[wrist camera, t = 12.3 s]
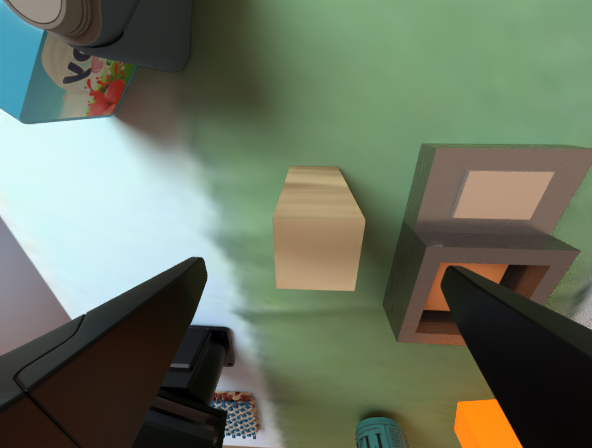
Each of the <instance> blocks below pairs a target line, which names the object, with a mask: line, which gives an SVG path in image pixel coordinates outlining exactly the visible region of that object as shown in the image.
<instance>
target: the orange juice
mask: <svg viewBox="0 0 592 448" xmlns="http://www.w3.org/2000/svg"><path fill="white" fill-rule="evenodd" d="M454 430H455V432H456V434H457V436H458V439H459V441H460V443H461V445H462V447H463V448H522V446H521V444H520V442H519V440H518V439H517V437H516V435H515V433H514V431H513V429H512V428H511V426H510V424H509V422H508V420H507V418H506V417H505V415H504V413H503V411H502V409H501V407H500V406H499V404H498V402H497V400H482V401H467V402H458V405H457V413H456V420H455V428H454Z"/></svg>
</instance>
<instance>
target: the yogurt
mask: <svg viewBox="0 0 592 448" xmlns="http://www.w3.org/2000/svg"><path fill="white" fill-rule="evenodd" d="M136 68H137V65H132V64H128V63H123V62H118V61H114V60H109V59H104V58H100V57H95V56H90V55H87V54H85V53H83V52H81V51H79V50H77V49H74V48H72V47H71V46H69V45H68V44H67V43H65V42H63V41H61V40H59V39H57V38H55V37H54V36H52V35H51V34H50V33H48V32H47V31H46V30H44V29H40V28H37V27H34V26H32V25H30V24H28V23H27V22H25V21H23V20H22V19H21V18H19V17H18V16H17V15H16V14H15V13H14V12H13V11H12V10H11V9H10V8H9V7H8V6H7V4H6V3H5V2H4V1H3V0H0V109H2V110H3V111H5V112H6V113H8V114H10V115H11V116H13V117H14V118H16V119H17V120H19V121H20V122H22V123H24V124H36V123H47V122H58V121H69V120H81V119H92V118H103V117H111V116H113V115H114V114H115V113H116V111H117V108H118V106H119V104H120V102H121V100H122V98H123V96H124V93H125V91H126V89H127V87H128V85H129V83H130V81H131V78H132V76H133V74H134V72H135V70H136Z"/></svg>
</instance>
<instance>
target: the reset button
mask: <svg viewBox="0 0 592 448" xmlns="http://www.w3.org/2000/svg"><path fill="white" fill-rule="evenodd" d="M450 265H458V266H463V267H465V268H467V269H469V270H471V271H473V272H475V273H477V274H479V275H481V276H483V277H485V278H487V279H489V280H491V281H494V282H496V283H498V284H499V283H500V281H501V279H502V277H503V275H504V273H505V271H506V269H507V267H508V266H509V264H476V263H444V262H441V263H440V265H439V268H438V271H437V274H436V276H435V279H434V282H433V285H432V288H431V290H430V293H429V296H428V299H427V301H426V304H425V307H424V310H440V311H450V310H449V307H448V305H447V302H446V300H445V298H444V295H443V293H442V291H441V287H440V284H441V280H442V278H443V275H444V273H445V270H446V268H447V267H448V266H450Z"/></svg>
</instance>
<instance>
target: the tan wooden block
mask: <svg viewBox="0 0 592 448" xmlns="http://www.w3.org/2000/svg"><path fill="white" fill-rule="evenodd" d="M365 221H366V220H365V218H364V216H363V214H362V212H361V210H360V209H359V207H358V205H357V203H356V201H355V199H354V197H353V195H352V193H351V191H350V189H349V187H348V186H347V184H346V182H345V180H344V178H343V176H342V174H341V172H340V170H339V168H338V167H321V166H290V168H289V171H288V174H287V177H286V180H285V183H284V186H283V189H282V192H281V195H280V198H279V201H278V204H277V207H276V210H275V213H274V216H273V234H274V254H275V274H276V288H282V289H310V290H337V291H355V285H356V278H357V272H358V266H359V259H360V253H361V247H362V240H363V234H364V228H365Z"/></svg>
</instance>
